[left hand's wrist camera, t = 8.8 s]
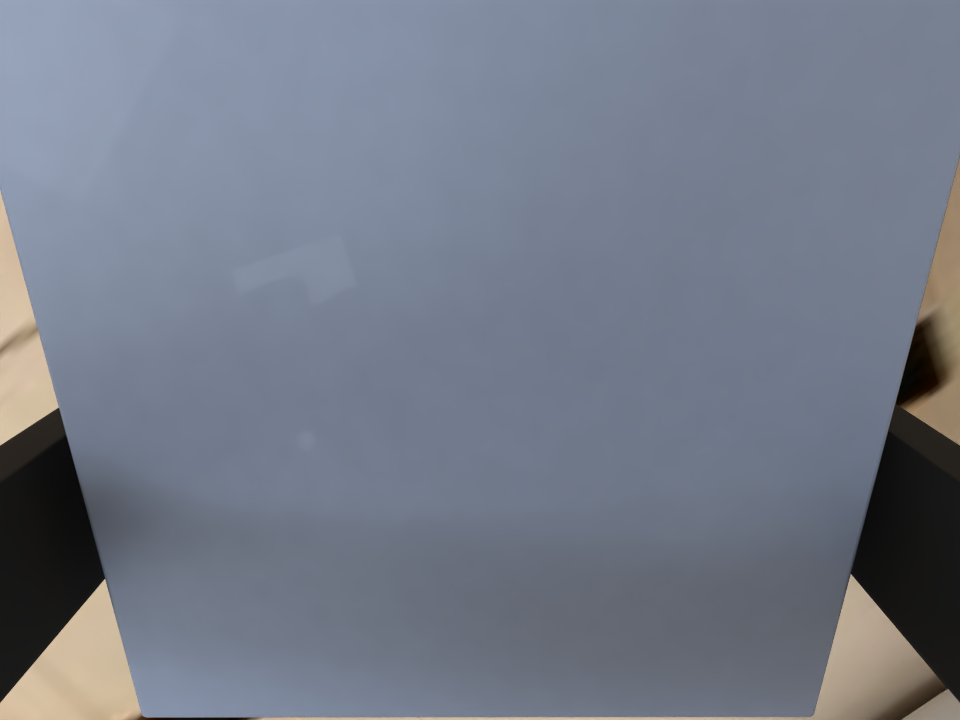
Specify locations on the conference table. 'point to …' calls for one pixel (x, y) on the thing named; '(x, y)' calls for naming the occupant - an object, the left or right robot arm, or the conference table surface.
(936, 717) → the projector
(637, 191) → the cabinet
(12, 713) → the conference table surface
